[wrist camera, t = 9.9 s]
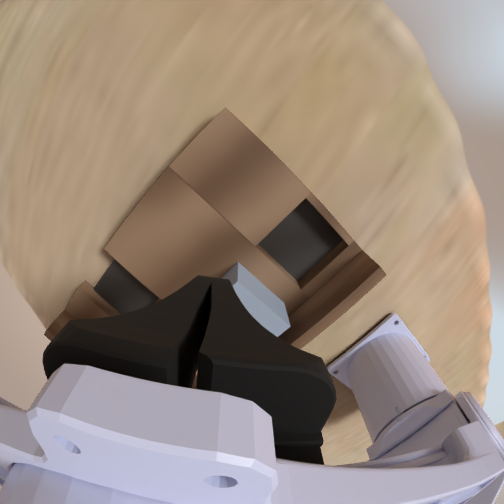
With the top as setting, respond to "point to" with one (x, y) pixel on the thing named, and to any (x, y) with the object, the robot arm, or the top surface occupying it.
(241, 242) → the board
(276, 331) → the block
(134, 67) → the top surface
